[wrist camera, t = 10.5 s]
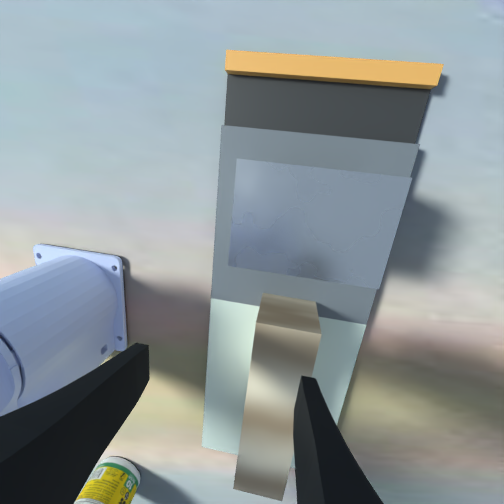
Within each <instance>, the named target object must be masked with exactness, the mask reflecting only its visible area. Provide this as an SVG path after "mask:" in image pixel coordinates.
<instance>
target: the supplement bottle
mask: <svg viewBox="0 0 504 504" xmlns="http://www.w3.org/2000/svg"><path fill="white" fill-rule="evenodd" d="M140 479H141V478H140V473H139V471H138V470H137V468H136V467H135V466H134V465H133V464H132V463H131V462H129V461H128V460H126V459H123V458H120V457H108V458H106V459H104V460H103V461H101V463H100V464H99V465H98V467H97V468H96V470H95V471H94V473H93V474H92V476H91V477H90V479H89V481H88V482H87V484H86V485H85V487H84V488H83V490H82V492H81V493H80V495H79V496H78V498H77V499H76V501H75V502H74V504H130V503H131V501H132V499H133V497H134V495H135V493H136V491H137V488H138V486H139V484H140Z"/></svg>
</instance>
